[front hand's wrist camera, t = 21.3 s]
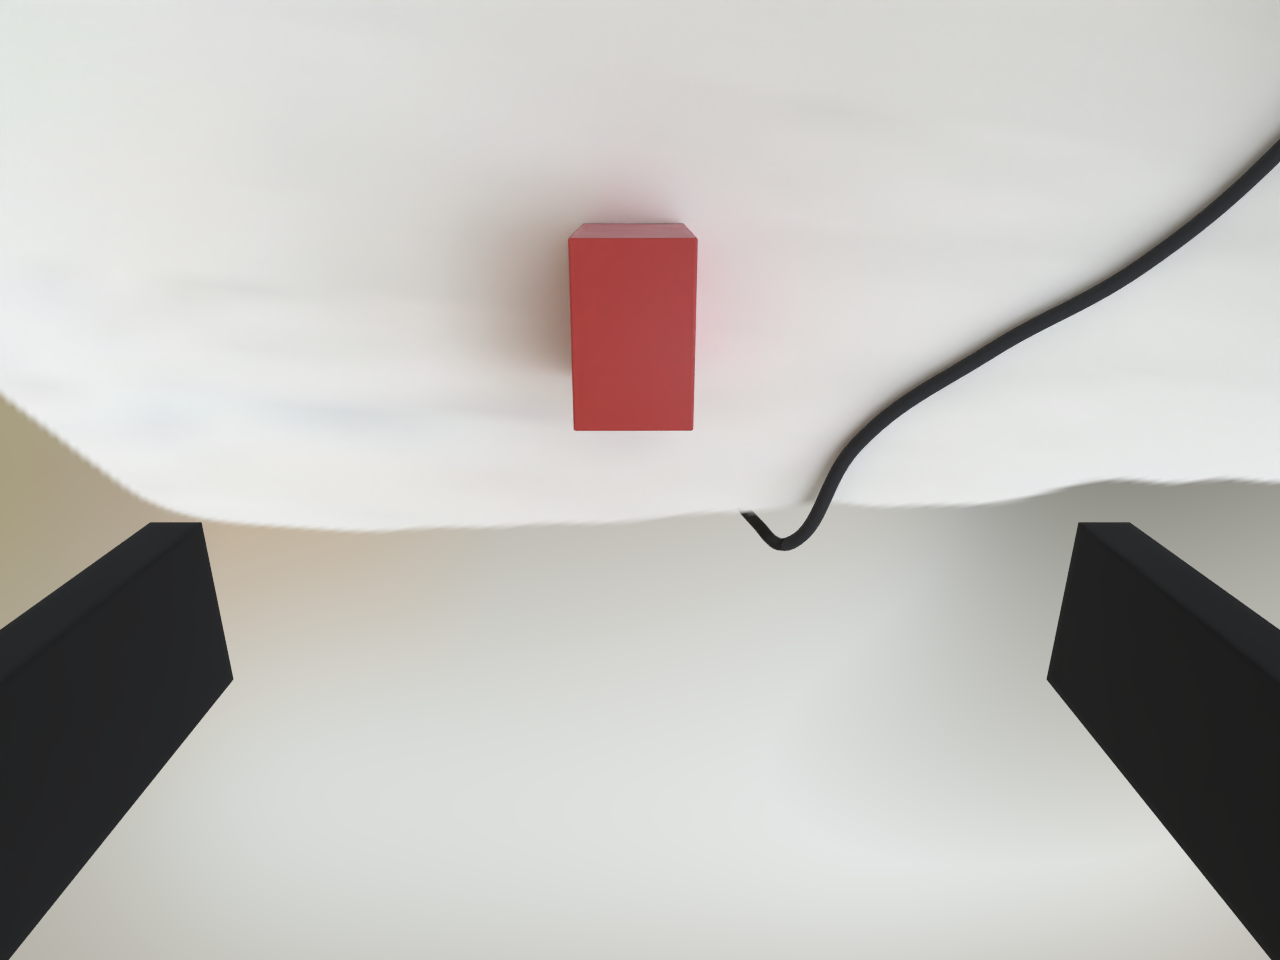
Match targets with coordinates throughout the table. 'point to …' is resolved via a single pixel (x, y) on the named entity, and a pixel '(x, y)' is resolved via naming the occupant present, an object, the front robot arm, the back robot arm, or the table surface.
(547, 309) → the table surface
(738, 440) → the table surface
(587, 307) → the brick
